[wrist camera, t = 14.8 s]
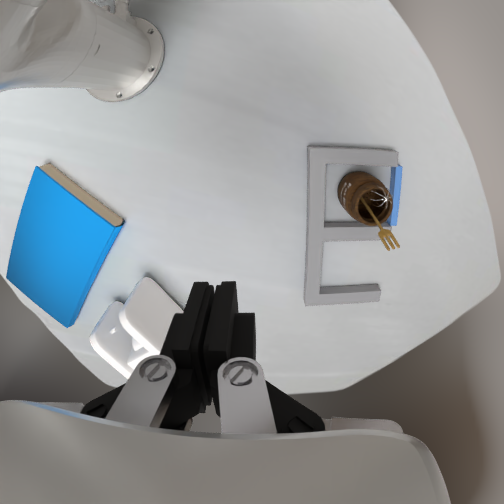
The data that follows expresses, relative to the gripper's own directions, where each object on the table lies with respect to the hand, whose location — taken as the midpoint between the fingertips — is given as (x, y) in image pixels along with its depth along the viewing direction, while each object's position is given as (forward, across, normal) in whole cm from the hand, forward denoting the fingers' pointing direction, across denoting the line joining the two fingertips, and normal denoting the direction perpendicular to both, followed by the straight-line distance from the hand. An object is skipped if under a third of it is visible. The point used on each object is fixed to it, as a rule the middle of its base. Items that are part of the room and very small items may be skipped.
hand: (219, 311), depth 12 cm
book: (+30, +32, +10) cm, 45 cm away
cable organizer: (+29, +16, +23) cm, 41 cm away
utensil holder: (+29, -15, +3) cm, 33 cm away
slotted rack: (+29, -14, +8) cm, 33 cm away
